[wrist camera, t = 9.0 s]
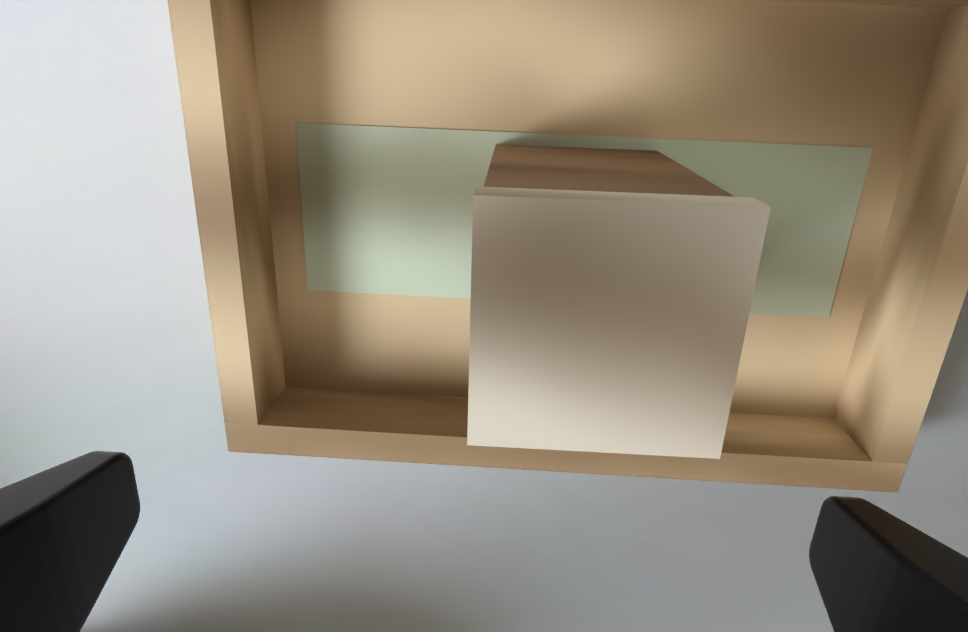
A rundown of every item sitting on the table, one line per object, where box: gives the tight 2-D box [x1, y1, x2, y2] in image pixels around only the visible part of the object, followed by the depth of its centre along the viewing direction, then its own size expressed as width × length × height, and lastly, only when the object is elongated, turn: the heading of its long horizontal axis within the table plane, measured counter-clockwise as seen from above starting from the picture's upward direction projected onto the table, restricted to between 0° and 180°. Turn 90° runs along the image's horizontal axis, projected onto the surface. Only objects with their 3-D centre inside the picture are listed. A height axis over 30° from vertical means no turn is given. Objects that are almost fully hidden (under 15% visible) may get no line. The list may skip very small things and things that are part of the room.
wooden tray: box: [168, 0, 968, 492], centre depth 17 cm, size 14×20×3 cm
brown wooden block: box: [467, 145, 771, 459], centre depth 15 cm, size 5×5×8 cm
